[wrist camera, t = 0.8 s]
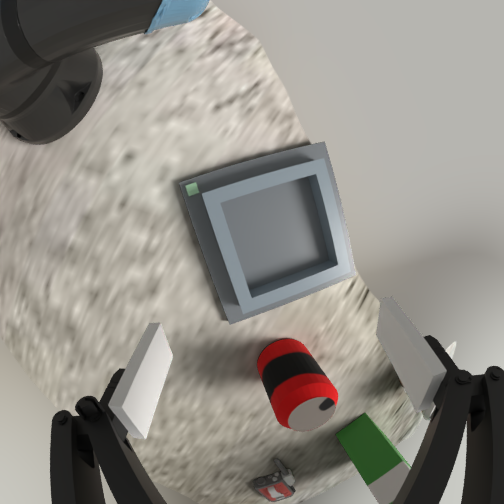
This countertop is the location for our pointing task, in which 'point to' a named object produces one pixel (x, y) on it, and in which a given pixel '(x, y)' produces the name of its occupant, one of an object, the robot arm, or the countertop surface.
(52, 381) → the countertop surface
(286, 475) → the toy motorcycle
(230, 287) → the dock
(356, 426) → the cereal box
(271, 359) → the soda can
